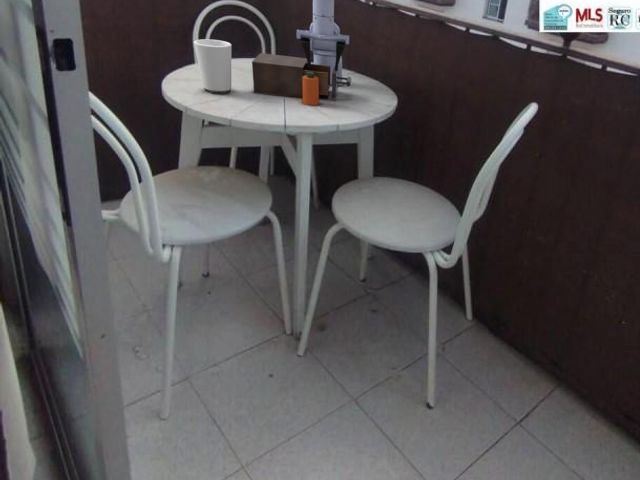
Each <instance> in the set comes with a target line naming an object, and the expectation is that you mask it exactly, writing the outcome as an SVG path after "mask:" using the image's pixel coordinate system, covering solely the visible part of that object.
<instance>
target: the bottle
mask: <svg viewBox="0 0 640 480" xmlns="http://www.w3.org/2000/svg"><path fill="white" fill-rule="evenodd" d="M302 79H303V98H302V104H304V105H307V106H318V105H319V102H320V95H319V78H318V77H316V76H314V73H313V72H307V75H305V76H303V77H302Z"/></svg>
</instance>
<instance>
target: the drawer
mask: <svg viewBox="0 0 640 480" xmlns="http://www.w3.org/2000/svg"><path fill="white" fill-rule="evenodd" d="M338 68H339V66H338ZM307 72H313V73H314V76H316V77H318V78H319V96H320V95H321V96H329V92H330V89H331V98H334V99H335V98H337V95H338V89H339V85H338V84H342V85H346V86H347V87H350V86H351V84H352V77H351V76H347V77H346V76H345V77H343V76H342V77H338V71H335V66H334V70H333V73H332V85H330V66H327V65H318V64H314V63H311V68H308V63H307V64H306V65H305V67H304V69H303V76H305V75H307ZM338 79H341V80H342V82H341V81H338Z"/></svg>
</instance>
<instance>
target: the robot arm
mask: <svg viewBox="0 0 640 480" xmlns="http://www.w3.org/2000/svg"><path fill="white" fill-rule="evenodd" d="M340 32H341V28H340V27H339V25H338V24H336V22H335V0H312V22H311V23H310V25H309V30H306V29H305V30H303V29H296V39H297V40H299V39H300V45H301V47H302V49H303V53H304V54H305V58H307V62H308V68H311V64H312V59H311V57H312V56H311V52H312V54H313V64H318V65H327V66H330V86H332V73H333V70H334V66H335V71H338V77H343V57H342V54H343V52H344V50H345V48H346V45H350V35H346V34H341V33H340ZM338 66H339V68H338ZM338 81H341V82H343V80H341V79H338ZM339 86H341V87H342V86H343V84H338V87H339Z"/></svg>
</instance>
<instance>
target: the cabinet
mask: <svg viewBox="0 0 640 480" xmlns="http://www.w3.org/2000/svg"><path fill="white" fill-rule="evenodd" d="M307 63H308V62H307V58H306V57H299V56H298V57H297V56H288V55H282V54H281V55H280V54H272V53H263V52H260V53H259V54H258V55H257V56H256V57H255V58H254V59H253V60H252V61H251V70H252V82H253V84H252V85H253V93H255V94H260V95H261V94H263V95H272V96H280V97H291V98H300V99H303V79H302V77H303V69H304V67H305V65H306V64H307Z"/></svg>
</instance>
